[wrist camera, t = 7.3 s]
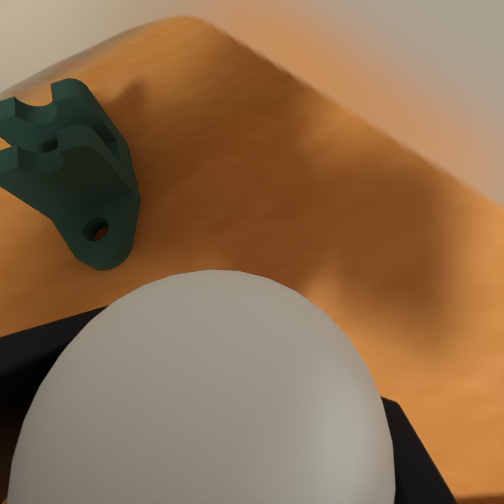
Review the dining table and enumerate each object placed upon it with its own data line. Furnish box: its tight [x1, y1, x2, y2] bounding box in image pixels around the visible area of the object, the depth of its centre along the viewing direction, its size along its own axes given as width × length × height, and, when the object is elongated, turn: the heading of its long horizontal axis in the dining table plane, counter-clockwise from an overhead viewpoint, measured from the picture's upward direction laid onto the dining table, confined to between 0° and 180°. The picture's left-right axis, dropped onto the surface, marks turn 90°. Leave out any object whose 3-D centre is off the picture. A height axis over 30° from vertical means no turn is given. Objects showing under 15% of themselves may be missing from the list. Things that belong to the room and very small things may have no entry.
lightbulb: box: [7, 270, 396, 504], centre depth 8 cm, size 6×6×11 cm
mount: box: [0, 78, 141, 270], centre depth 16 cm, size 11×4×5 cm, turn 19°
